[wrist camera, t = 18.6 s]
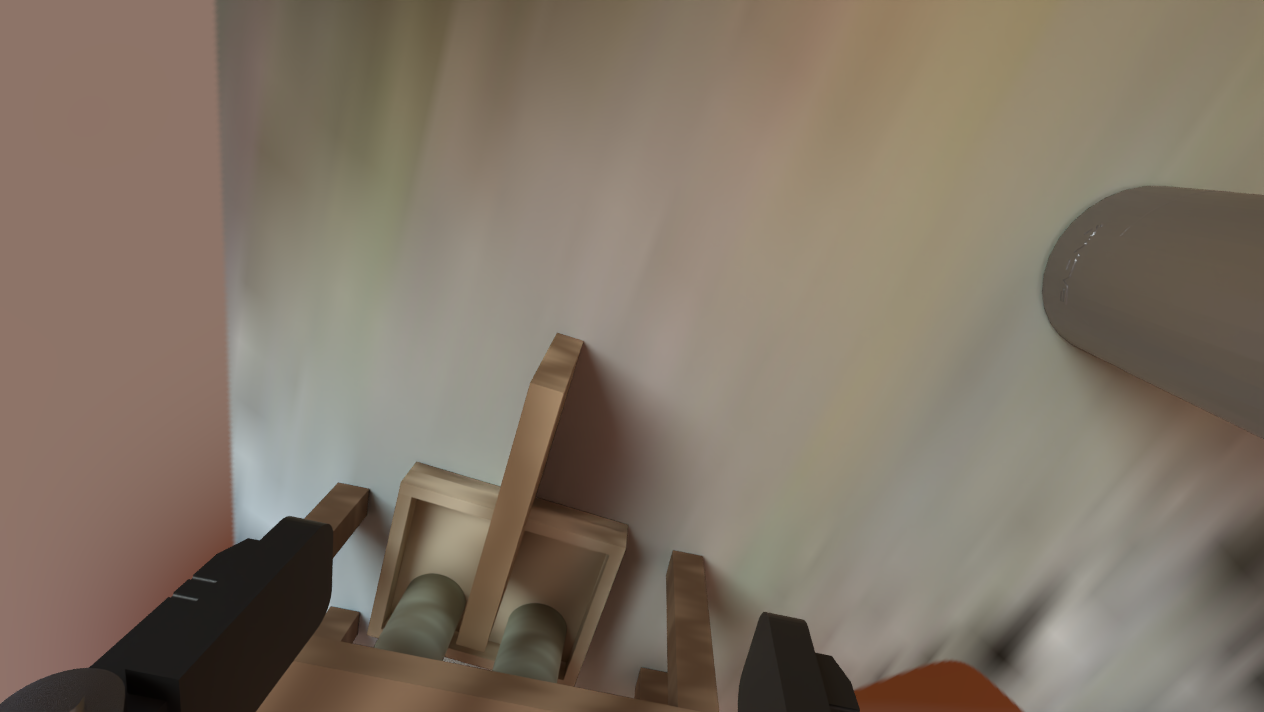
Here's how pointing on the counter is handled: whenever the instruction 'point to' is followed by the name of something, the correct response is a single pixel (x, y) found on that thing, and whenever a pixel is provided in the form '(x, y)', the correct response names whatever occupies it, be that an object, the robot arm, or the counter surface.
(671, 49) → the counter surface
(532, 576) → the tray
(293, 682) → the wooden rack
